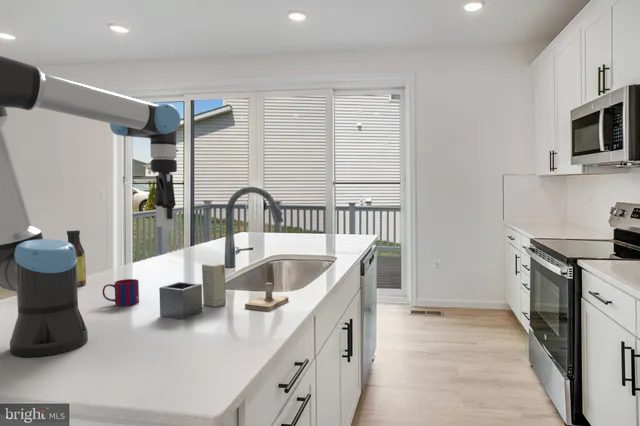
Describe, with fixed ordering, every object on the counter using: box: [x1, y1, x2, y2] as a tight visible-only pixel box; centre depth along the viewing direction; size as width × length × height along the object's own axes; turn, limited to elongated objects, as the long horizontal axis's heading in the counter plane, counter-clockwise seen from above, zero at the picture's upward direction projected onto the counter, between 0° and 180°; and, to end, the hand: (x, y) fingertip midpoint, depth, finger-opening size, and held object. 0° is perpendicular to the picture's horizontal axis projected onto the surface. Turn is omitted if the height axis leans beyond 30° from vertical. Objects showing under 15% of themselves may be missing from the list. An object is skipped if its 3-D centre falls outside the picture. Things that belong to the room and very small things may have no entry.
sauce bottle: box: [66, 229, 87, 287], centre depth 164 cm, size 6×6×20 cm
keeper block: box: [244, 282, 289, 312], centre depth 137 cm, size 12×8×6 cm, turn 156°
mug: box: [102, 278, 140, 307], centre depth 139 cm, size 7×10×7 cm
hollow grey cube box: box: [158, 281, 203, 321], centre depth 127 cm, size 8×8×8 cm
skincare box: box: [201, 262, 227, 308], centre depth 138 cm, size 6×4×12 cm
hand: (164, 228), depth 142 cm, fingers open, 13 cm apart
